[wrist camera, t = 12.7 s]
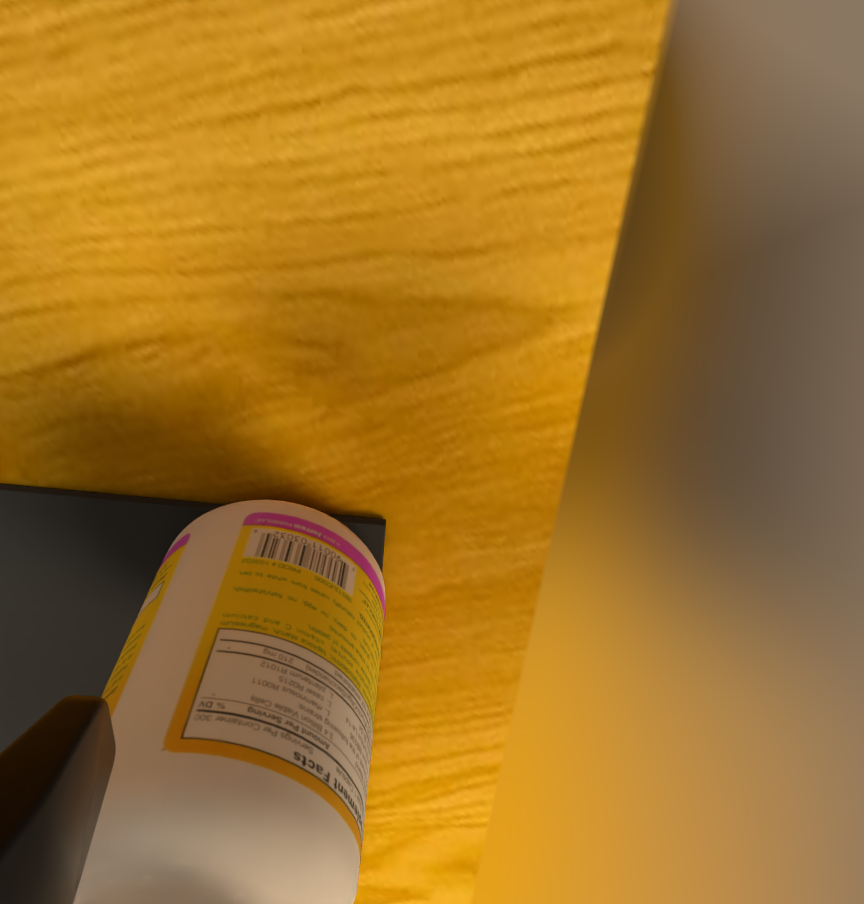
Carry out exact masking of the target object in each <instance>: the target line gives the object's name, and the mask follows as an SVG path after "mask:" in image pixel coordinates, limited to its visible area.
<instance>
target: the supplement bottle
mask: <svg viewBox="0 0 864 904" xmlns="http://www.w3.org/2000/svg"><path fill="white" fill-rule="evenodd" d="M385 602H386V594H385V585H384V580H383V576H382V573H381V570H380V568H379V565H378V564H377V562H376V560H375V558H374V557H373V555H372V553H371V552H370V551H369V549H368V548H367V546H366V545H365V544H364V543H363V542H362V541H361V540H360V539H359V538H358V537H357V536H356V535H355V534H354V533H353V532H352V531H351V530H350V529H349V528H347V527H346V526H345V525H343V524H342V523H340V522H339V521H337V520H336V519H334V518H332V517H330V516H328V515H326V514H325V513H322V512H320V511H318V510H315V509H313V508H310V507H307V506H303V505H300V504H296V503H291V502H286V501H278V500H249V501H241V502H236V503H232V504H228V505H225V506H221V507H219V508H216V509H214V510H211V511H209V512H207V513H205V514H203V515H202V516H200V517H198V518H197V519H195V520H194V521H193V522H192V523H190V524H189V525H188V526H187V527H186V528H185V529H184V530H183V531H182V532H181V533H180V534H179V535H178V536H177V538H176V539H175V540H174V542H173V543H172V545H171V547H170V548H169V550H168V552H167V554H166V556H165V558H164V560H163V562H162V564H161V566H160V568H159V570H158V572H157V574H156V577H155V579H154V581H153V583H152V585H151V588H150V590H149V592H148V594H147V597H146V599H145V601H144V603H143V605H142V607H141V609H140V612H139V614H138V616H137V619H136V620H135V623H134V625H133V627H132V630H131V632H130V634H129V636H128V639H127V641H126V643H125V645H124V648H123V650H122V652H121V654H120V657H119V659H118V661H117V663H116V665H115V667H114V670H113V672H112V674H111V676H110V678H109V681H108V683H107V685H106V687H105V690H104V692H103V694H102V698H104V699H105V700H106V701H107V703H108V706H109V711H110V716H111V721H112V727H113V732H114V738H115V744H116V753H115V760H114V765H113V769H112V772H111V775H110V779H109V782H108V786H107V789H106V793H105V796H104V800H103V803H102V807H101V810H100V814H99V817H98V821H97V824H96V827H95V831H94V834H93V838H92V841H91V845H90V848H89V852H88V855H87V859H86V862H85V866H84V869H83V872H82V876H81V879H80V883H79V886H78V889H77V892H76V896H75V899H74V902H73V904H354V900H355V897H356V893H357V886H358V877H359V868H360V860H361V850H362V841H363V829H364V818H365V808H366V796H367V788H368V778H369V768H370V758H371V749H372V738H373V727H374V717H375V708H376V698H377V689H378V678H379V667H380V658H381V649H382V639H383V629H384V618H385Z"/></svg>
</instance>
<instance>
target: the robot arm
mask: <svg viewBox="0 0 864 904" xmlns="http://www.w3.org/2000/svg"><path fill="white" fill-rule="evenodd" d="M115 753H116V744H115V738H114V732H113V727H112V721H111V716H110V711H109V706H108V703H107V701H106V700H105V699H104V698H102V697H96V696H85V695H69V696H67V697H65V698H63V699H62V700H60V701H59V702H58V703H57V704H56V705H54V706H53V707H52V708H51V709H50V710H49V711H48V712H47V713H45V714H44V715H43V716H42V717H41V718H40V719H39V720H37V721H36V722H35V723H34V724H33V725H32V726H31V727H29V728H28V729H27V730H26V731H25V732H24V733H23V734H22V735H20V736H19V737H18V738H17V739H16V740H15V741H14V742H12V743H11V744H10V745H9V746H8V747H7V748H6V749H4V750H3V751H2V752H1V753H0V904H73V902H74V899H75V896H76V892H77V889H78V886H79V883H80V879H81V876H82V872H83V869H84V866H85V862H86V859H87V855H88V852H89V848H90V845H91V841H92V838H93V834H94V831H95V827H96V824H97V821H98V817H99V814H100V810H101V807H102V803H103V800H104V796H105V793H106V789H107V786H108V782H109V779H110V775H111V772H112V769H113V765H114V760H115Z"/></svg>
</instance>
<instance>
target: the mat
mask: <svg viewBox="0 0 864 904" xmlns="http://www.w3.org/2000/svg"><path fill="white" fill-rule="evenodd" d="M221 506H225V505H223V504H212V503H201V502H190V501H180V500H169V499H158V498H147V497H137V496H126V495H115V494H104V493H93V492H83V491H72V490H61V489H50V488H40V487H29V486H18V485H7V484H0V753H1V752H2V751H3V750H4V749H6V748H7V747H8V746H9V745H10V744H11V743H12V742H14V741H15V740H16V739H17V738H18V737H19V736H20V735H22V734H23V733H24V732H25V731H26V730H27V729H28V728H29V727H31V726H32V725H33V724H34V723H35V722H36V721H37V720H39V719H40V718H41V717H42V716H43V715H44V714H45V713H47V712H48V711H49V710H50V709H51V708H52V707H53V706H54V705H56V704H57V703H58V702H59V701H60V700H62V699H63V698H65V697H67V696H69V695H85V696H96V697H102V694H103V692H104V690H105V687H106V685H107V683H108V681H109V678H110V676H111V674H112V672H113V670H114V667H115V665H116V663H117V661H118V659H119V657H120V654H121V652H122V650H123V648H124V645H125V643H126V641H127V639H128V636H129V634H130V632H131V630H132V627H133V625H134V623H135V620H136V619H137V616H138V614H139V612H140V609H141V607H142V605H143V603H144V601H145V599H146V597H147V594H148V592H149V590H150V588H151V585H152V583H153V581H154V579H155V577H156V574H157V572H158V570H159V568H160V566H161V564H162V562H163V560H164V558H165V556H166V554H167V552H168V550H169V548H170V547H171V545H172V543H173V542H174V540H175V539H176V538H177V536H178V535H179V534H180V533H181V532H182V531H183V530H184V529H185V528H186V527H187V526H188V525H189V524H190V523H192V522H193V521H194V520H195V519H197V518H198V517H200V516H202V515H203V514H205V513H207V512H209V511H211V510H214V509H216V508H219V507H221ZM326 515H328V516H330V517H332V518H334V519H336V520H337V521H339V522H340V523H342V524H343V525H345V526H346V527H347V528H349V529H350V530H351V531H352V532H353V533H354V534H355V535H356V536H357V537H358V538H359V539H360V540H361V541H362V542H363V543H364V544H365V545H366V546H367V548H368V549H369V551H370V552H371V553H372V555H373V557H374V558H375V560H376V562H377V564H378V565H379V568H380V570H381V573H382V566H383V553H384V540H385V527H386V520H385V519H374V518H363V517H352V516H341V515H331V514H326Z"/></svg>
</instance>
